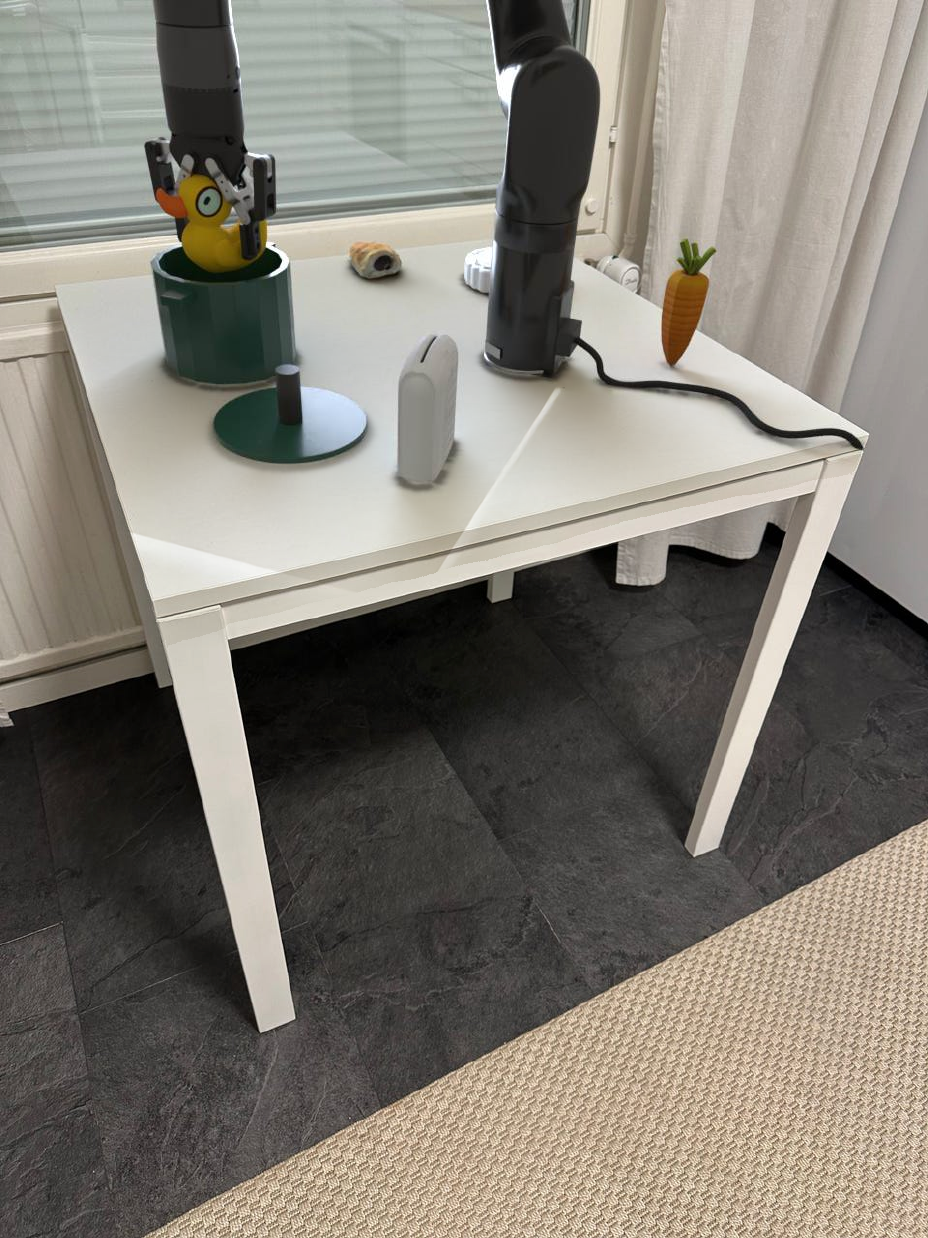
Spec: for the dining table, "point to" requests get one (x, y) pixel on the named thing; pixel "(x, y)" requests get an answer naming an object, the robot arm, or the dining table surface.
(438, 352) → the photo printer
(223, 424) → the lid
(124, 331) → the dining table surface
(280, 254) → the pot
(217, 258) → the duckling
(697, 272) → the carrot
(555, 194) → the robot arm
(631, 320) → the dining table surface
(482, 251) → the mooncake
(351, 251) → the pastry
